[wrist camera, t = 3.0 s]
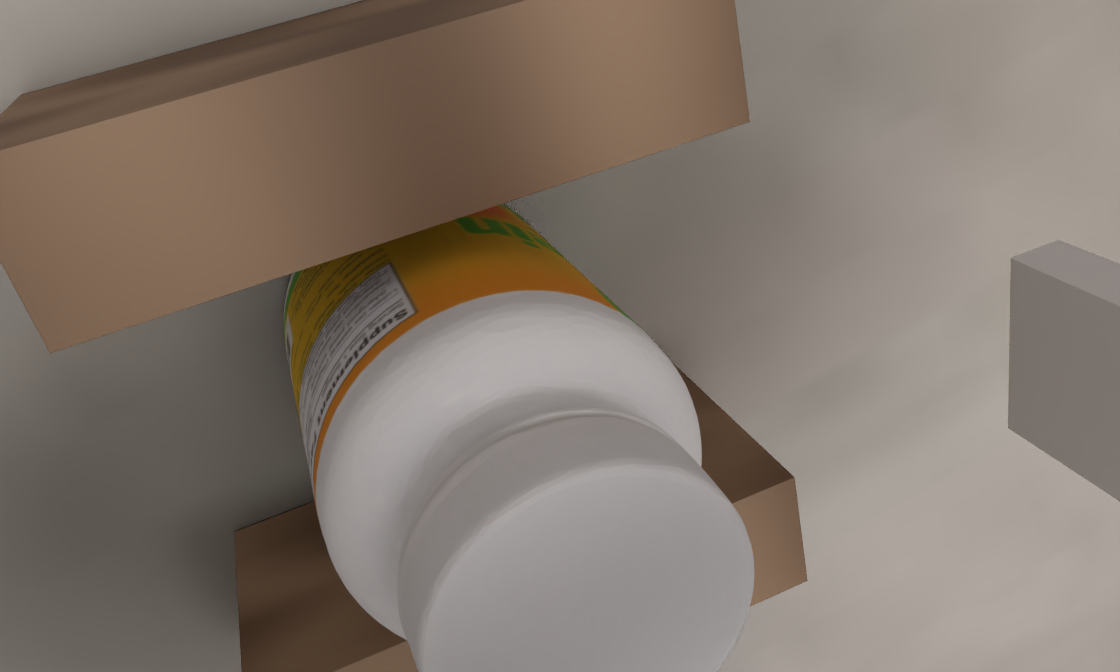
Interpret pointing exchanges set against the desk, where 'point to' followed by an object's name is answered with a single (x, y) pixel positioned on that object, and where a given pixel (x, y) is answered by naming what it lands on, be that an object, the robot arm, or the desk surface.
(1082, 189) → the desk surface
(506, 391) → the supplement bottle
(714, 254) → the desk surface
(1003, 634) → the desk surface
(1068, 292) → the robot arm
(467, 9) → the brown blocks
